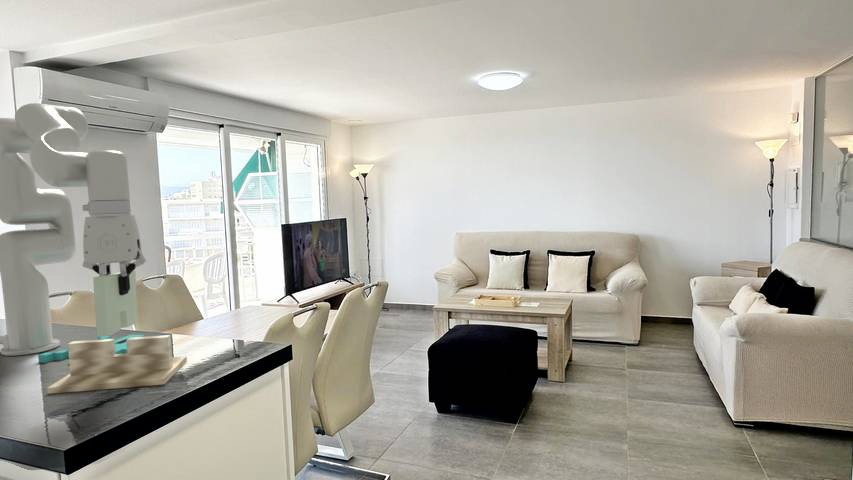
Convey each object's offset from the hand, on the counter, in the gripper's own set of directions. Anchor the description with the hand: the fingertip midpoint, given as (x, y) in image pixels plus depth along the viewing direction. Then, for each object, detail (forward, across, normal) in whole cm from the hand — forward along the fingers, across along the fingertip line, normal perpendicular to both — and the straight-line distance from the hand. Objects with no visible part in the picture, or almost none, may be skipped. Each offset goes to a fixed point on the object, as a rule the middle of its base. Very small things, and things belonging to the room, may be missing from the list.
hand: (117, 294), depth 113 cm
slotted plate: (+8, 0, 0) cm, 8 cm away
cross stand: (+18, 0, 0) cm, 18 cm away
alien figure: (+19, -13, +23) cm, 32 cm away
